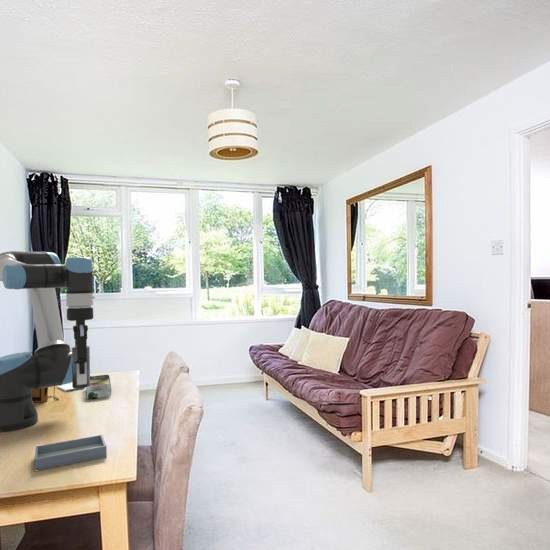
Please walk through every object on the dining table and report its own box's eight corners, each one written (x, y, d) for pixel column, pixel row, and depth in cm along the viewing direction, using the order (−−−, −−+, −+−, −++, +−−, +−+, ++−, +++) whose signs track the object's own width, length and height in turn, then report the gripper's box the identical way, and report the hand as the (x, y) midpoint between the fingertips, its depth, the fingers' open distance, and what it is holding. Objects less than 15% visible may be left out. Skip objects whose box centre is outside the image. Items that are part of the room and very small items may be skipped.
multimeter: (67, 396, 182) (66, 348, 183) (52, 403, 173) (51, 352, 173) (34, 396, 184) (33, 348, 184) (17, 402, 174) (16, 352, 174)
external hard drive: (65, 393, 189) (56, 388, 198) (85, 389, 195) (75, 385, 204) (65, 389, 189) (56, 385, 198) (85, 386, 195) (75, 381, 204)
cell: (71, 385, 136) (71, 343, 136) (89, 383, 138) (88, 342, 138) (72, 389, 132) (72, 346, 132) (90, 386, 134) (90, 344, 134)
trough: (35, 457, 119) (35, 446, 119) (102, 444, 127) (102, 434, 127) (35, 471, 110) (34, 459, 110) (106, 457, 118) (106, 445, 118)
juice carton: (112, 397, 179) (111, 382, 180) (86, 401, 176) (85, 385, 176) (110, 387, 198) (109, 373, 198) (86, 390, 194) (86, 376, 194)
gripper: (96, 308, 129) (97, 387, 129) (90, 304, 145) (91, 374, 145) (68, 309, 125) (69, 390, 125) (65, 305, 141) (66, 377, 141)
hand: (81, 382), depth 135 cm, fingers closed on cell, 5 cm apart
